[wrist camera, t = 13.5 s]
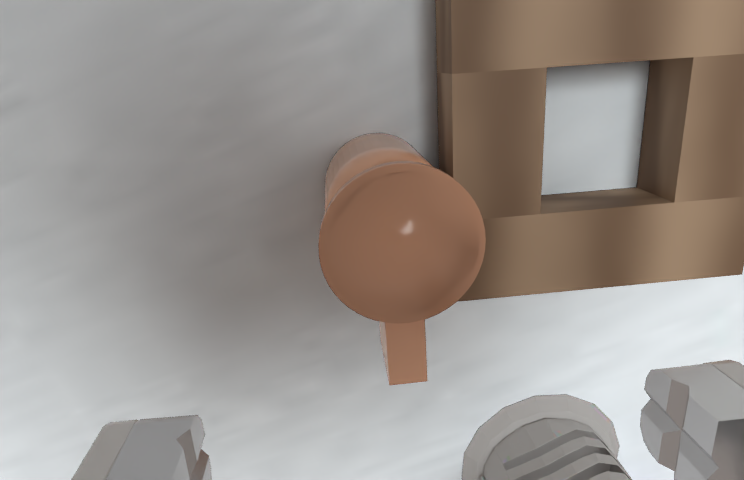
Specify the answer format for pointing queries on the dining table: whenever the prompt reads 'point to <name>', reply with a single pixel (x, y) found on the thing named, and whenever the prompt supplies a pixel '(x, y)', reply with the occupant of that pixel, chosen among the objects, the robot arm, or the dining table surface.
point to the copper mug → (397, 243)
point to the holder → (658, 149)
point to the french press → (545, 443)
